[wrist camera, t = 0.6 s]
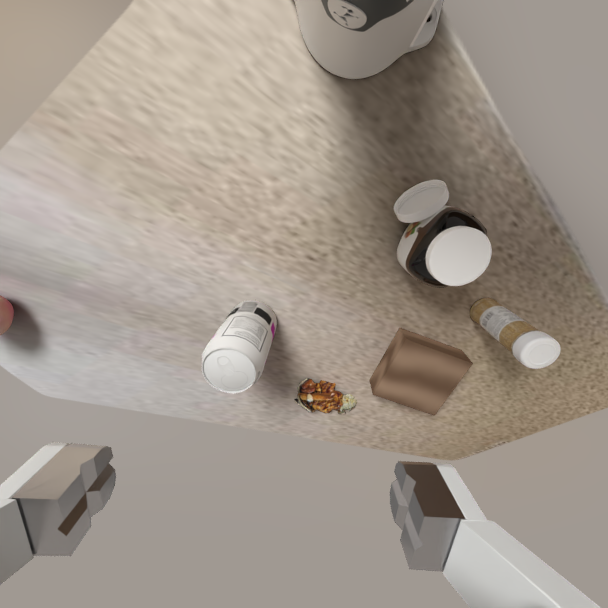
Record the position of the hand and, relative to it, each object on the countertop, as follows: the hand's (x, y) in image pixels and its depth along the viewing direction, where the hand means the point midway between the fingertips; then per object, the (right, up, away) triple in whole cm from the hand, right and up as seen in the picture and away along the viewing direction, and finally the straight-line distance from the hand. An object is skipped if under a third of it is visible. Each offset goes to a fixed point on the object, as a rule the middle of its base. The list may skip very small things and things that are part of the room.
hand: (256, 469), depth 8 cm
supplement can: (-7, +2, +42) cm, 43 cm away
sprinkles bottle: (+31, +4, +39) cm, 50 cm away
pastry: (+6, -13, +48) cm, 50 cm away
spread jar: (+19, +16, +34) cm, 42 cm away
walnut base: (+21, -6, +43) cm, 49 cm away
